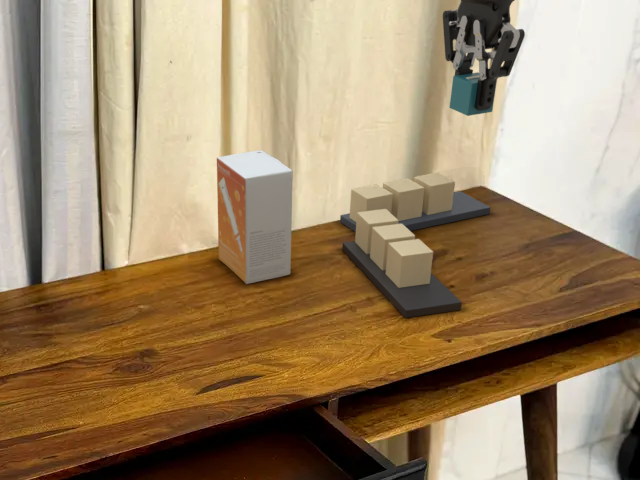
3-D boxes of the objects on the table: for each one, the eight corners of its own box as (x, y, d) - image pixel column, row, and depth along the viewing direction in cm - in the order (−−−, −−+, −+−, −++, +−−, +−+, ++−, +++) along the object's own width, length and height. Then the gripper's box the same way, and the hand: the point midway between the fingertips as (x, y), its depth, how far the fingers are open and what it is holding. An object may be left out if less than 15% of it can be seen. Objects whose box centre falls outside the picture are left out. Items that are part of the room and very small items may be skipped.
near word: (342, 249, 127) (344, 211, 124) (392, 243, 129) (395, 205, 126) (405, 318, 112) (409, 277, 109) (461, 310, 114) (466, 269, 111)
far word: (459, 197, 141) (463, 162, 138) (489, 214, 137) (495, 178, 133) (339, 222, 134) (341, 185, 131) (367, 240, 129) (370, 203, 126)
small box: (217, 260, 124) (215, 156, 116) (262, 251, 127) (263, 148, 119) (245, 285, 119) (244, 177, 111) (291, 275, 121) (294, 169, 113)
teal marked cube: (492, 112, 128) (497, 78, 126) (467, 116, 127) (472, 82, 124) (473, 104, 131) (478, 71, 128) (449, 107, 130) (453, 74, 127)
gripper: (431, -52, 121) (416, 94, 132) (504, -32, 111) (482, 123, 122) (480, -56, 124) (461, 87, 135) (555, -38, 114) (529, 115, 125)
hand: (471, 103), depth 128 cm, fingers closed on teal marked cube, 4 cm apart
